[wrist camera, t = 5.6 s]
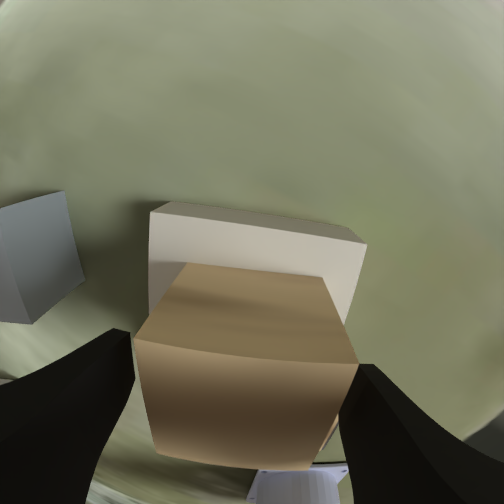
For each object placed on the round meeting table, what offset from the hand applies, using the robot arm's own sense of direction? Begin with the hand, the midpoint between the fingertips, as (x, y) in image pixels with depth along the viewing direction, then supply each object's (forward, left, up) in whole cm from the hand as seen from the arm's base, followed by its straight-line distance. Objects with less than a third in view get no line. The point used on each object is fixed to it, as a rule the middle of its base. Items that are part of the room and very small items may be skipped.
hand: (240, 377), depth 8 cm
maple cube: (0, 0, -3) cm, 3 cm away
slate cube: (+1, +12, -6) cm, 13 cm away
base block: (0, 0, -6) cm, 6 cm away
